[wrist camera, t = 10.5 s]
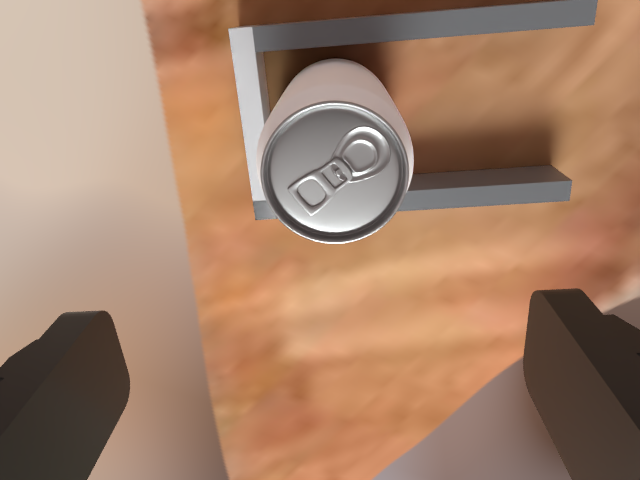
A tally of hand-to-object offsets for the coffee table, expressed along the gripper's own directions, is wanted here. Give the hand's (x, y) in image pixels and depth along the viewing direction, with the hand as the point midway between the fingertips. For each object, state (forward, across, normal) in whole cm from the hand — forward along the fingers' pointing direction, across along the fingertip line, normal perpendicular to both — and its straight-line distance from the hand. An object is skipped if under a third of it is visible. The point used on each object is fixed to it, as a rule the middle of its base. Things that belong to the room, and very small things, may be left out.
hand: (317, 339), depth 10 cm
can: (+22, 0, 0) cm, 22 cm away
